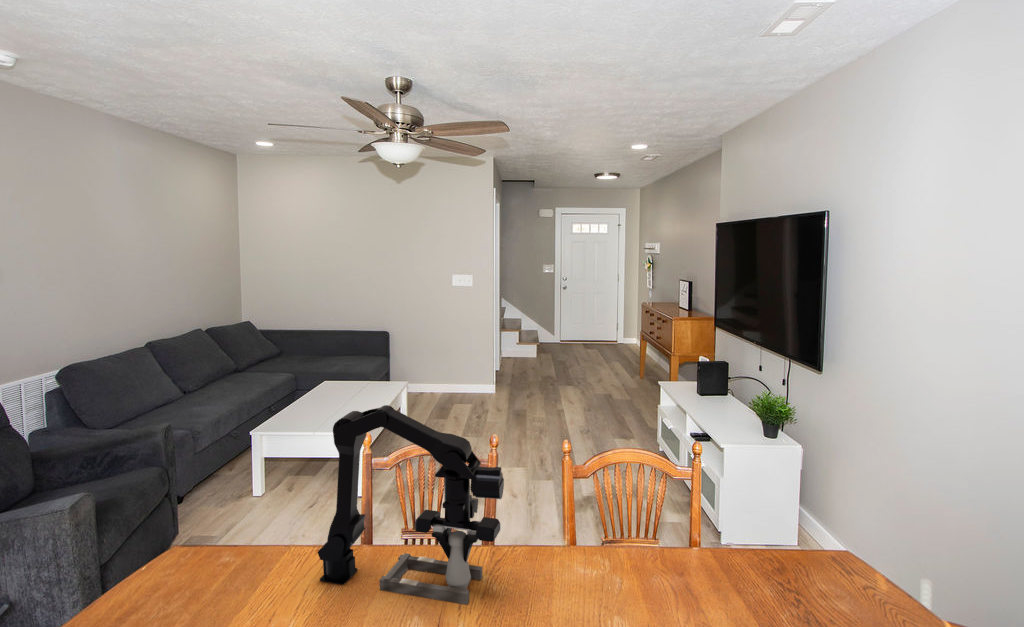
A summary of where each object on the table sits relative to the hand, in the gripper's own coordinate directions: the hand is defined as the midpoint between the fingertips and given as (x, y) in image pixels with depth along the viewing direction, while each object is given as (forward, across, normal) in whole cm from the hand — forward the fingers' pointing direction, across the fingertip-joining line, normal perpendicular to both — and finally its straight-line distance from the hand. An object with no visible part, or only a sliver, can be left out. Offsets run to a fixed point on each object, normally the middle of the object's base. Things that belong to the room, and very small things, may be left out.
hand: (458, 560), depth 130 cm
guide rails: (+7, +6, 0) cm, 9 cm away
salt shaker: (+7, 0, 0) cm, 7 cm away
